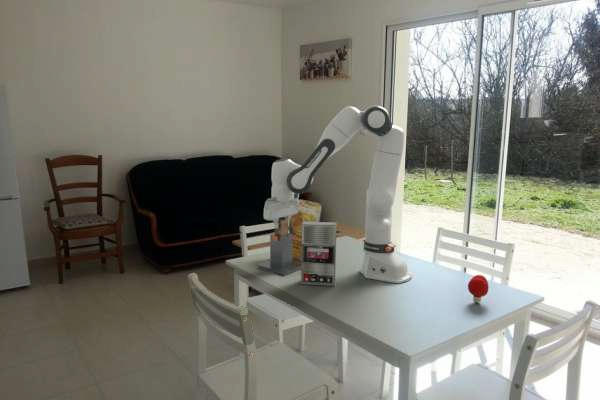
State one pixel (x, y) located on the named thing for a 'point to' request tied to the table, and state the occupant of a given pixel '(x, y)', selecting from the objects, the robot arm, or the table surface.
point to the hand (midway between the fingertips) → (281, 226)
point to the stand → (280, 256)
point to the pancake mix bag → (306, 213)
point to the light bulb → (478, 287)
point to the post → (282, 228)
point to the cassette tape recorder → (318, 253)
